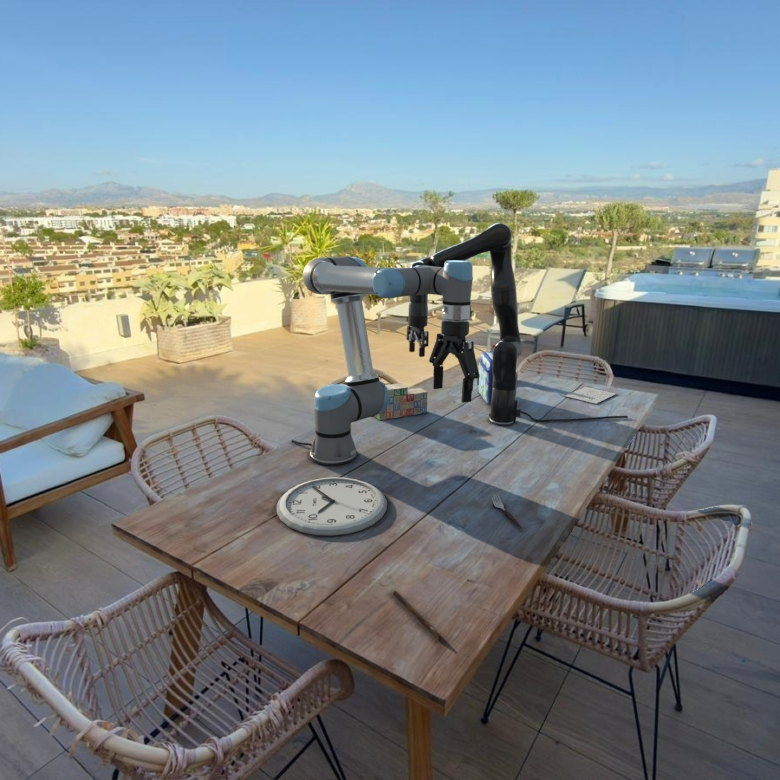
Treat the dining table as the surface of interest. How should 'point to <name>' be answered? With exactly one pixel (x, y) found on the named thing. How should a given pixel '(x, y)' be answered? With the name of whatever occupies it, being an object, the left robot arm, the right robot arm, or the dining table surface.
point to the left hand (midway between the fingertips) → (451, 394)
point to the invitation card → (590, 395)
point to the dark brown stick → (416, 614)
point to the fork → (500, 505)
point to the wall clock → (331, 506)
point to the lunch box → (486, 376)
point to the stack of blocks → (404, 402)
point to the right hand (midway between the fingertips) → (416, 354)
